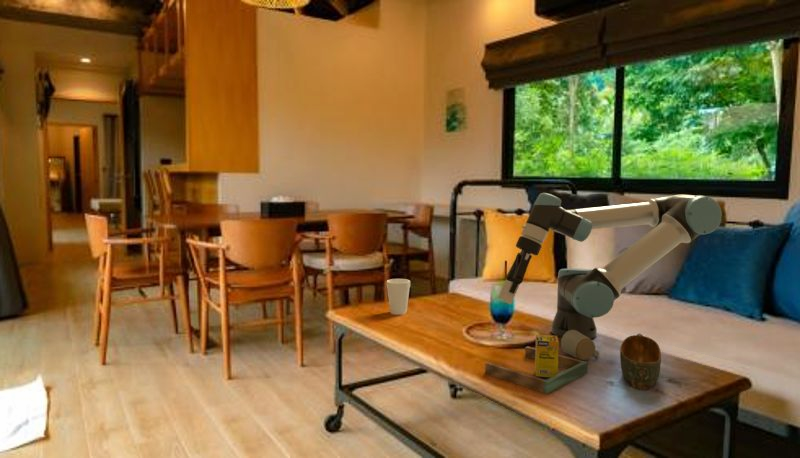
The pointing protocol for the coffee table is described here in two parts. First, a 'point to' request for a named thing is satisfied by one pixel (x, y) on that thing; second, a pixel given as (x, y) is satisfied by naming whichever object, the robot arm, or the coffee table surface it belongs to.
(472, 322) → the coffee table surface
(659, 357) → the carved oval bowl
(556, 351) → the supplement box
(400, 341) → the coffee table surface
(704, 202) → the robot arm
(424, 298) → the coffee table surface
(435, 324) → the coffee table surface
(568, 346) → the ceramic mug
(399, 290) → the foam cup
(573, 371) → the open frame
